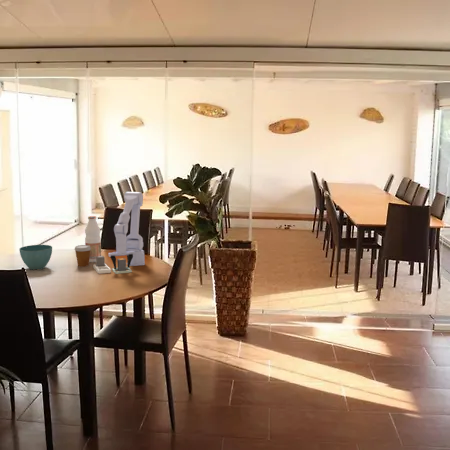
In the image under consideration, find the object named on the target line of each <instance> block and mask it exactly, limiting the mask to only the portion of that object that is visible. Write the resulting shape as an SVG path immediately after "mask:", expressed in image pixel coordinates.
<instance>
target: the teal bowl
mask: <svg viewBox="0 0 450 450" xmlns="http://www.w3.org/2000/svg"><path fill="white" fill-rule="evenodd" d="M52 254H53V246H52V245H50V244H49V245H48V244H31V245H26V246H22V247H20V248H19V256H20V258H21V260H22V262H23V263H24V265H25V266H26V267H27V268H28V269H29V270H32V269H39V270H43V269H45V268H46V267H47V266H48V264H49V262H50V261H51V257H52Z"/></svg>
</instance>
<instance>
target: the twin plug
mask: <svg viewBox="0 0 450 450" xmlns="http://www.w3.org/2000/svg"><path fill="white" fill-rule="evenodd" d="M105 263H106V262H105V256H104V255H101V256H96V262H95V264H96V265H97V267H98V266H105Z"/></svg>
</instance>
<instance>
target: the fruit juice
mask: <svg viewBox="0 0 450 450" xmlns="http://www.w3.org/2000/svg"><path fill="white" fill-rule="evenodd" d="M87 219H88V221H87V224H86V227H85V229H84V234H85V237H84V238H85V239H84V242H85V243H84V245H89V246H90V248H91V250H90V258H89V263H96V256H102V240H101V239H102V238H101V229H100V227H99V224H98V223H97V215H96V216H95V215H91V216H90V215H89V216H87Z"/></svg>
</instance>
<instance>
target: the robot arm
mask: <svg viewBox="0 0 450 450" xmlns="http://www.w3.org/2000/svg"><path fill="white" fill-rule="evenodd" d="M123 197H124V198H123V199H124V202H125V203H124V208H123V211H122V212H121V213H120V215H119V217H118V221H117V223H116V224H114V227H113V232H114V236H115V245H116V247H115V250H116V251H113V252H108V258H109V257H110V260H111V262H112V264H113V268H114V269H116V268H117V257H120V256H126V258H127V259H126V267H128V268H130V269H131V267H134V266H135V267H136V266H145V264H146V263H145V260H146V259H145V250H143V247H144V238H143V237H142V236H141V234H139V231H140V230H139V228H140V215H141V213H140V212H141V207H142V206H143V205H144V201H143V200H144V195H143V193H142V192H141V191H126V192H125V193H124V195H123ZM129 222H130V230H129ZM128 230H129V231H130V233H129V234H128V235H127V233H128V232H129V231H128Z"/></svg>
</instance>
